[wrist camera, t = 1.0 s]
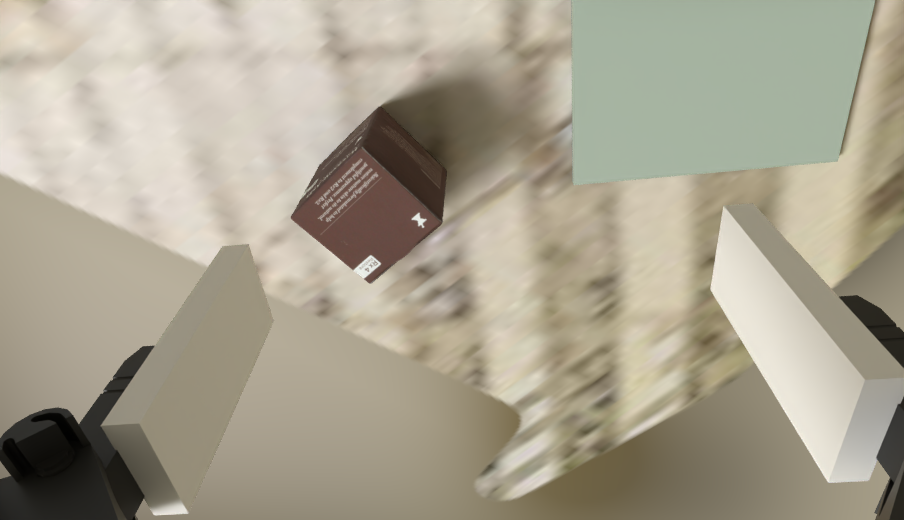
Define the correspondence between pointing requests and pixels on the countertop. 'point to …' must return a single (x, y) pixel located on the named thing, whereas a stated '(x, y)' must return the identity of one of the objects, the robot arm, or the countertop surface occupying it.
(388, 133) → the box
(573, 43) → the mat
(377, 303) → the countertop surface
